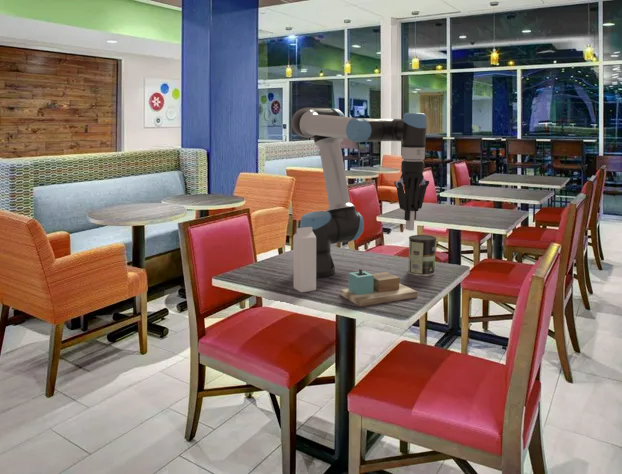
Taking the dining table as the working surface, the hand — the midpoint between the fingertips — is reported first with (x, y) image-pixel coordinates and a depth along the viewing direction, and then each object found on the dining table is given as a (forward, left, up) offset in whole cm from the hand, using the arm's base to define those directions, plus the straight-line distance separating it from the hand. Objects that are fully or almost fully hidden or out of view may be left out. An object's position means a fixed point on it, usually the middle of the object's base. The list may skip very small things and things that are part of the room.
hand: (409, 229), depth 187 cm
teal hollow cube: (+1, -19, -19) cm, 27 cm away
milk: (-16, -32, -22) cm, 42 cm away
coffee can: (-16, +18, -22) cm, 32 cm away
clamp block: (0, -11, -19) cm, 22 cm away
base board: (+2, -13, -21) cm, 25 cm away
